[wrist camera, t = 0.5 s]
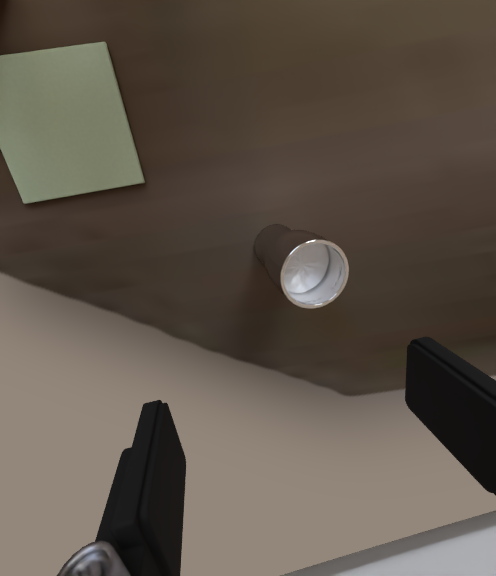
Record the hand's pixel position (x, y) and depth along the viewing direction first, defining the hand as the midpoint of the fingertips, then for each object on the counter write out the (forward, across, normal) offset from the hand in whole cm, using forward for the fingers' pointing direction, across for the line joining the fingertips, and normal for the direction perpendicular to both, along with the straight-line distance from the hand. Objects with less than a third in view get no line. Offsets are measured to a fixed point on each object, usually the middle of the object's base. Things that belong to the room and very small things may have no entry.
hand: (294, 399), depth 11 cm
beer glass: (+31, -7, +1) cm, 31 cm away
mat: (+31, +15, -16) cm, 38 cm away
